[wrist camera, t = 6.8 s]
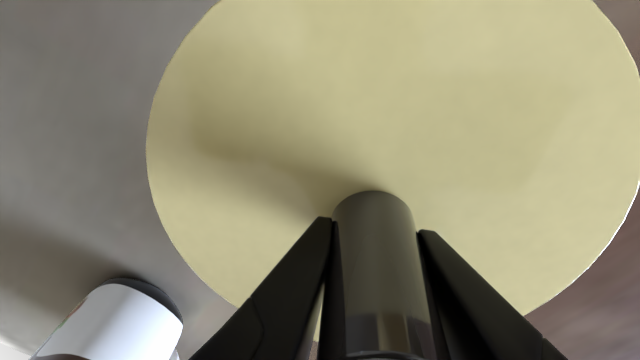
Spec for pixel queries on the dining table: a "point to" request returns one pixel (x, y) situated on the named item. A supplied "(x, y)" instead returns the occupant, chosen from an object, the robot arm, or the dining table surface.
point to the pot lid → (396, 152)
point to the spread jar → (117, 325)
